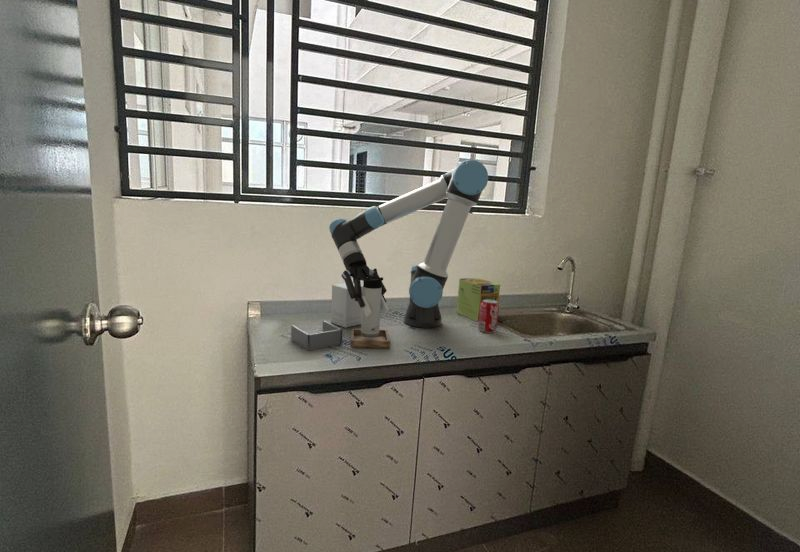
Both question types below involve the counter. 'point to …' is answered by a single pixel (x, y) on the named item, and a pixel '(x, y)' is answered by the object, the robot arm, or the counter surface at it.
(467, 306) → the protein box
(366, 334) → the travel mug
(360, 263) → the robot arm
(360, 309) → the supplement box
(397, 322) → the counter surface
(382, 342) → the tray
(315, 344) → the bay
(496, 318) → the soda can
